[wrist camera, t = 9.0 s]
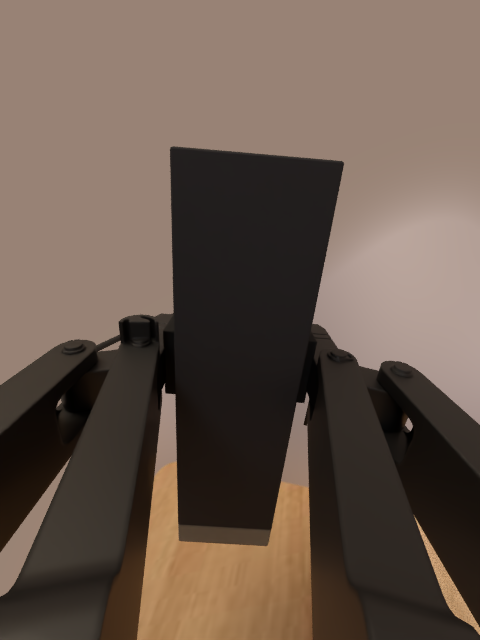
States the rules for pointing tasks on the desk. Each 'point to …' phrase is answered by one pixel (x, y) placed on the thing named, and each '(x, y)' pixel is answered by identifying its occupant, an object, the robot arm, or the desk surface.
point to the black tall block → (242, 327)
